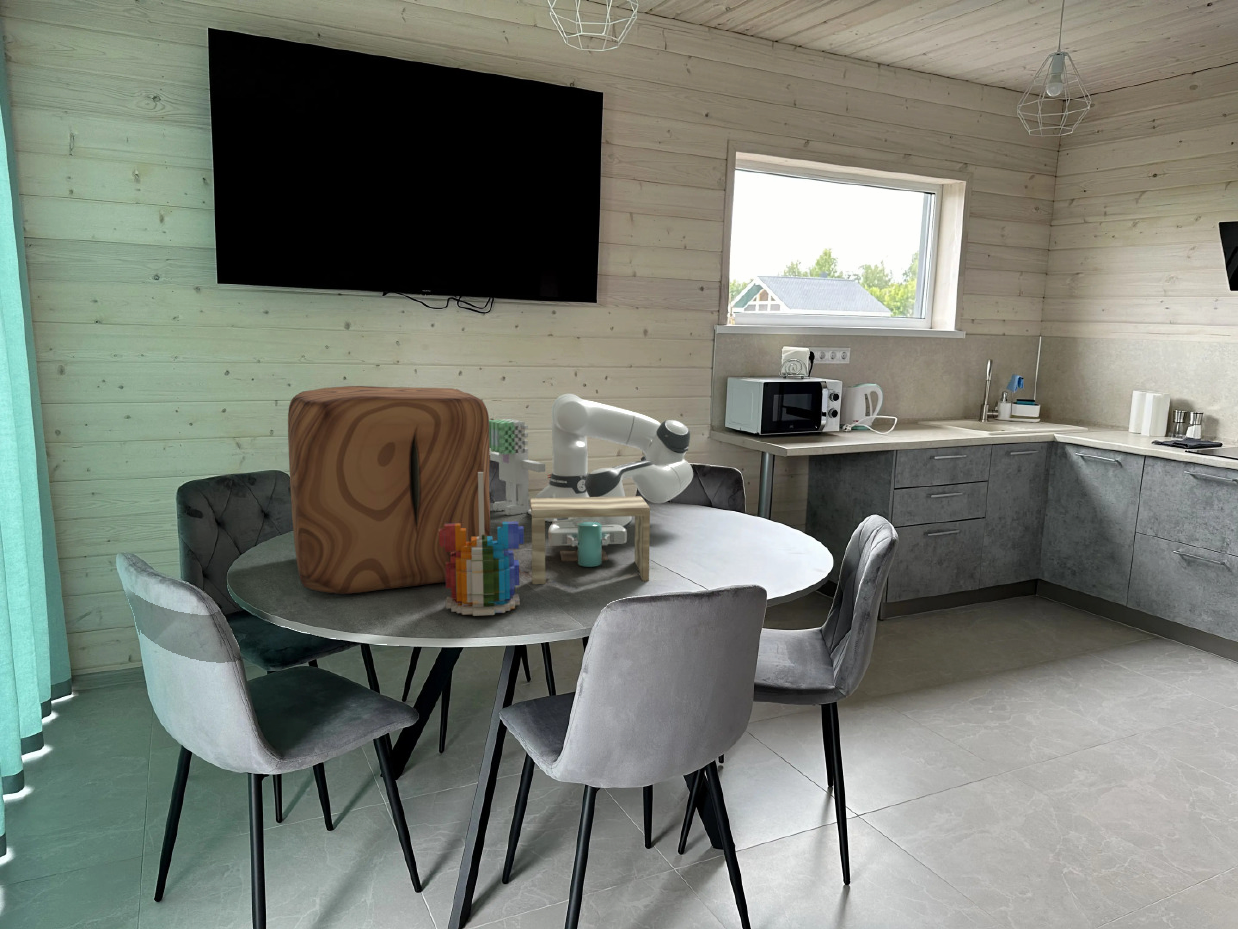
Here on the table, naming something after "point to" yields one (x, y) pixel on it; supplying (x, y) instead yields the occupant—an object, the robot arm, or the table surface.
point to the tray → (576, 555)
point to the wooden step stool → (589, 508)
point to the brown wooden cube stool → (383, 483)
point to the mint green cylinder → (589, 544)
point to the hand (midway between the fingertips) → (589, 543)
